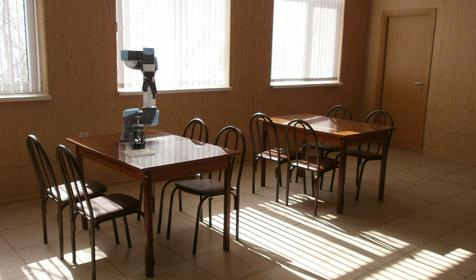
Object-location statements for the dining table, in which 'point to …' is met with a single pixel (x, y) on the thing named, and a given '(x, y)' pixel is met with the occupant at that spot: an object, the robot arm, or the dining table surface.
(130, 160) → the dining table surface
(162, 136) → the dining table surface
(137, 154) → the ceramic tile
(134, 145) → the french press
